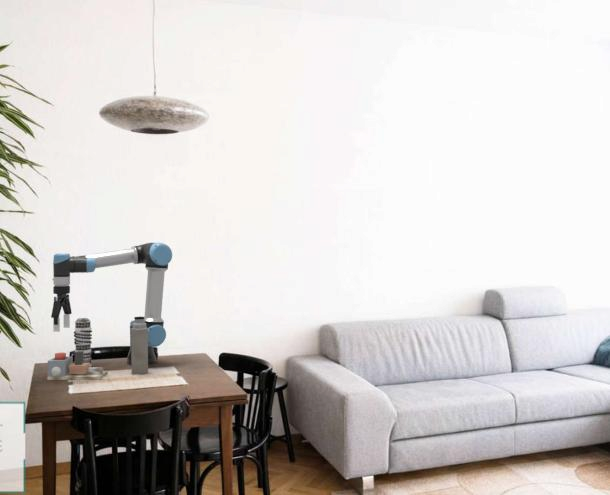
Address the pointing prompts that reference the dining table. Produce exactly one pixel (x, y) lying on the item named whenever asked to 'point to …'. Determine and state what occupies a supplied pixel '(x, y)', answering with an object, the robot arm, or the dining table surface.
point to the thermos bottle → (139, 346)
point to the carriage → (78, 364)
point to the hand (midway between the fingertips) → (61, 329)
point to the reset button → (60, 356)
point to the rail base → (84, 375)
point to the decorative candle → (83, 338)
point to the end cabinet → (59, 367)
